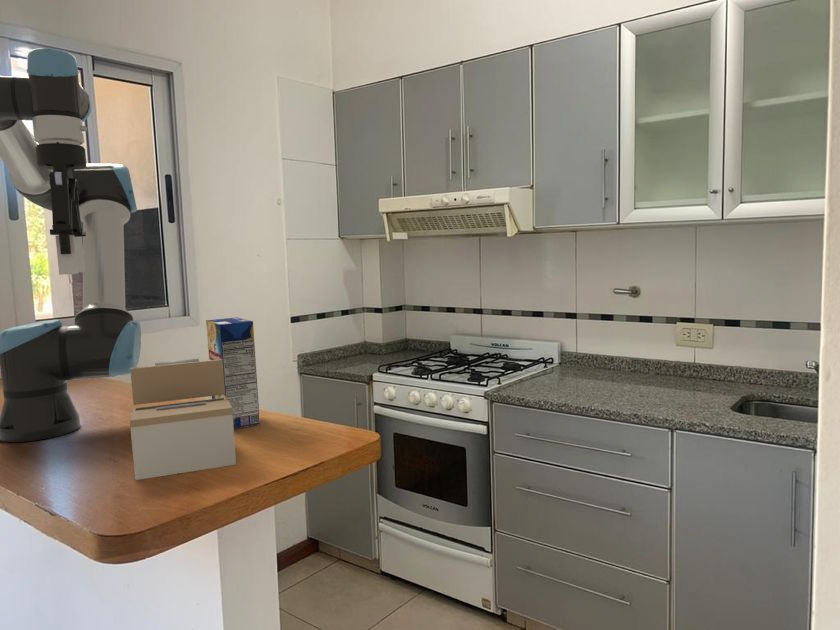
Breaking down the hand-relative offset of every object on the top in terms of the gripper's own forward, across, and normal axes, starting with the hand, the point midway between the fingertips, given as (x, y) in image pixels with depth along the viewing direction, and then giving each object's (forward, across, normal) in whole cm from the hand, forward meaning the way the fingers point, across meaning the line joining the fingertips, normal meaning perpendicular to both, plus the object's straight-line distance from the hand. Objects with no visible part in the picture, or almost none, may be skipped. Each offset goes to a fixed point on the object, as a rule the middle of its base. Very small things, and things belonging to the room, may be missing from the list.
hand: (72, 273), depth 114 cm
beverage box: (+34, +13, -27) cm, 45 cm away
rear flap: (+21, -3, -16) cm, 26 cm away
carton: (+34, -9, -16) cm, 38 cm away
